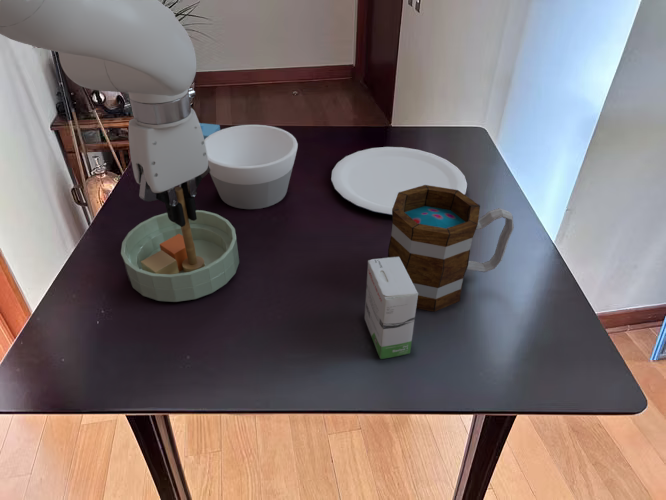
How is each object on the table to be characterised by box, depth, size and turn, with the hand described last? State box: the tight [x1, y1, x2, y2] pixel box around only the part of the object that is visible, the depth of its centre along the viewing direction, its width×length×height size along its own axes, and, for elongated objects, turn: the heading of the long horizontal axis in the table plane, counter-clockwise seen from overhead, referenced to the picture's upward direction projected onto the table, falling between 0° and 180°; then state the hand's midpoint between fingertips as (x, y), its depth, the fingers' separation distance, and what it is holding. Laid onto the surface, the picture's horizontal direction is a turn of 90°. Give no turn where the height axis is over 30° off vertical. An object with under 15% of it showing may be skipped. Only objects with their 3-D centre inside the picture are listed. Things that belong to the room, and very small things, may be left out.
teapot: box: [199, 122, 221, 140], centre depth 119 cm, size 12×6×8 cm, turn 80°
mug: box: [387, 185, 515, 312], centre depth 82 cm, size 20×14×15 cm
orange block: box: [159, 234, 196, 272], centre depth 87 cm, size 4×4×4 cm
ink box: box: [364, 257, 418, 360], centre depth 73 cm, size 9×5×12 cm, turn 13°
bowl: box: [204, 124, 299, 210], centre depth 105 cm, size 19×19×11 cm
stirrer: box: [174, 186, 205, 272], centre depth 81 cm, size 4×4×15 cm
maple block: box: [141, 250, 179, 274], centre depth 83 cm, size 4×4×4 cm
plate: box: [330, 146, 468, 216], centre depth 111 cm, size 29×29×2 cm
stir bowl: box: [120, 209, 240, 303], centre depth 86 cm, size 18×18×6 cm
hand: (183, 219), depth 80 cm, fingers closed on stirrer, 1 cm apart
